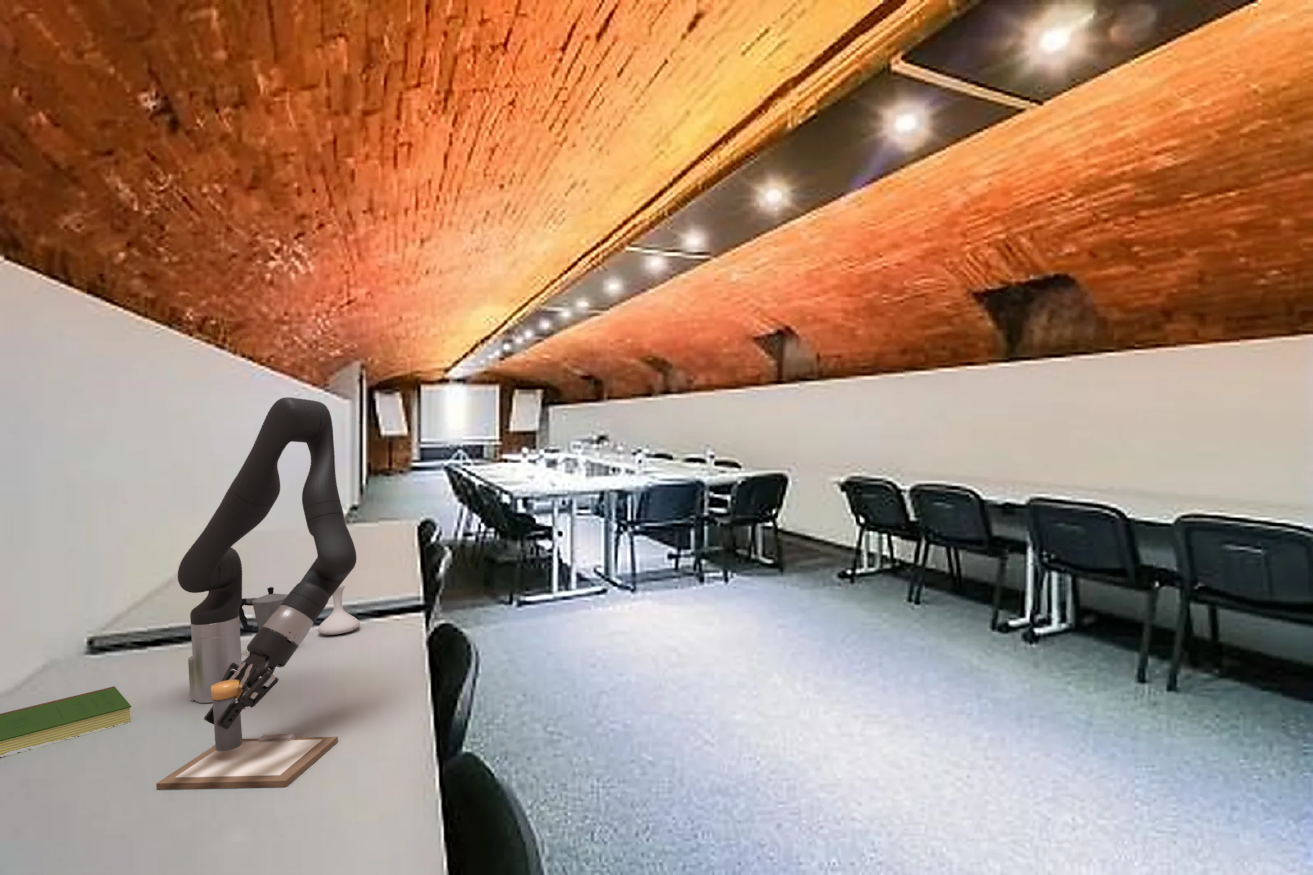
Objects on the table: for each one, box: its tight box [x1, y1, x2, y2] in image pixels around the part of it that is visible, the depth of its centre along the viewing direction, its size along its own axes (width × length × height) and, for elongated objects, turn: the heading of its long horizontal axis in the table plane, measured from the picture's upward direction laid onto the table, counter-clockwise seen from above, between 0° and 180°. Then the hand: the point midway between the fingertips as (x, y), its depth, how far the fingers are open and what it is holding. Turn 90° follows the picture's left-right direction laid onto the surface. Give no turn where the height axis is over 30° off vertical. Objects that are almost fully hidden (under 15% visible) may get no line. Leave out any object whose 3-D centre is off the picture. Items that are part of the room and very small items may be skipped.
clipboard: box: [155, 733, 339, 791], centre depth 119 cm, size 22×16×2 cm
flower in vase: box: [317, 583, 361, 636], centre depth 202 cm, size 13×11×25 cm
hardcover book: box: [0, 685, 132, 755], centre depth 138 cm, size 25×19×4 cm
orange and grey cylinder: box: [211, 680, 243, 751], centre depth 120 cm, size 4×4×11 cm
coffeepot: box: [239, 586, 289, 631], centre depth 183 cm, size 15×9×18 cm, turn 103°
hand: (215, 724), depth 118 cm, fingers closed on orange and grey cylinder, 4 cm apart
